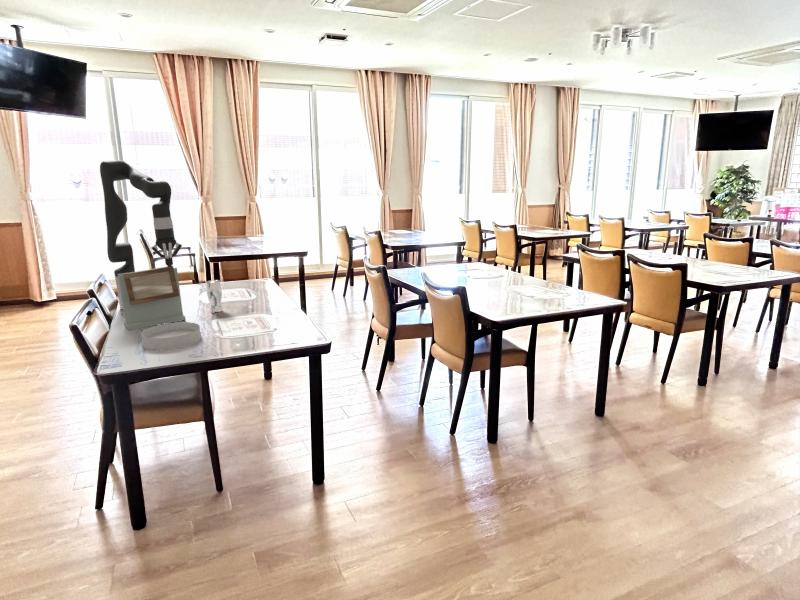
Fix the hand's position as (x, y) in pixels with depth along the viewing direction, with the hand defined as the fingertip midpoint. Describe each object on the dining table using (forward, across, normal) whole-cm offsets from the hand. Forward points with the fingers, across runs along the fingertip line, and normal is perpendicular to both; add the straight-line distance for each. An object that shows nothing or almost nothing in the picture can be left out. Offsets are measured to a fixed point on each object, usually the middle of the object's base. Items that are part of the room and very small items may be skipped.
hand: (169, 266), depth 231 cm
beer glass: (+26, -19, -6) cm, 33 cm away
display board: (+26, +9, -4) cm, 27 cm away
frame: (+14, +8, 0) cm, 17 cm away
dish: (+26, +8, +31) cm, 41 cm away
